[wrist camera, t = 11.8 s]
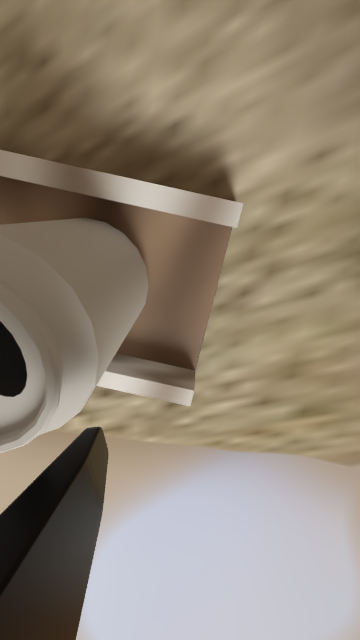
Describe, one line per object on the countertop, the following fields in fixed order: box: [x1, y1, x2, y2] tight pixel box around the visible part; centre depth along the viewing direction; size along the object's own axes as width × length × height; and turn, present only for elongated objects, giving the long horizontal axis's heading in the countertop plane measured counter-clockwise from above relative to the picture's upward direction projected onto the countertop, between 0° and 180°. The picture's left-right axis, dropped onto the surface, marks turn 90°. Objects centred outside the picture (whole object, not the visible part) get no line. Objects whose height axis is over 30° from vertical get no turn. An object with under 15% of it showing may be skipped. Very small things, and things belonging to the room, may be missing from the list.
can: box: [0, 218, 149, 453], centre depth 14 cm, size 8×8×12 cm
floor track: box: [0, 150, 243, 406], centre depth 19 cm, size 16×12×4 cm
